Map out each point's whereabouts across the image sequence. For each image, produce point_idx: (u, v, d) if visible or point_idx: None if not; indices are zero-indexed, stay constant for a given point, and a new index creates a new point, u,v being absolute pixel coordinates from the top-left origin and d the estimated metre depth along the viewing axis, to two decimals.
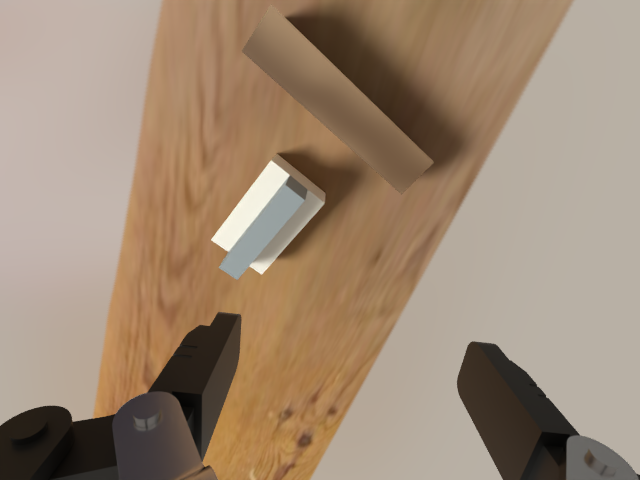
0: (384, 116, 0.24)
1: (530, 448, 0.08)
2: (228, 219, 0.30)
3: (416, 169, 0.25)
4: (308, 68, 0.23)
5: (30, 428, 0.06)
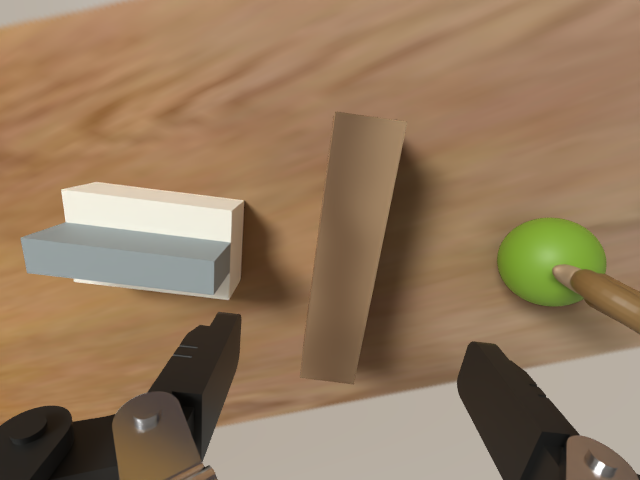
0: (366, 311, 0.19)
1: (530, 448, 0.08)
2: (111, 198, 0.19)
3: (335, 374, 0.20)
4: (364, 204, 0.17)
5: (30, 428, 0.06)
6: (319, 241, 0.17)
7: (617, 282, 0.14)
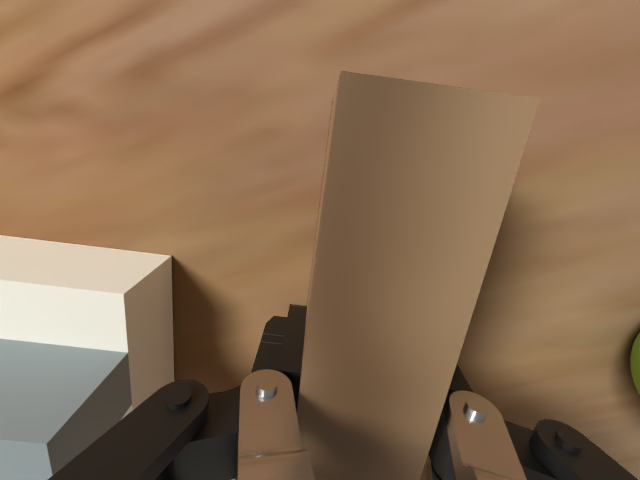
0: None
1: None
2: None
3: None
4: (412, 306, 0.07)
5: (179, 397, 0.07)
6: (303, 383, 0.08)
7: None
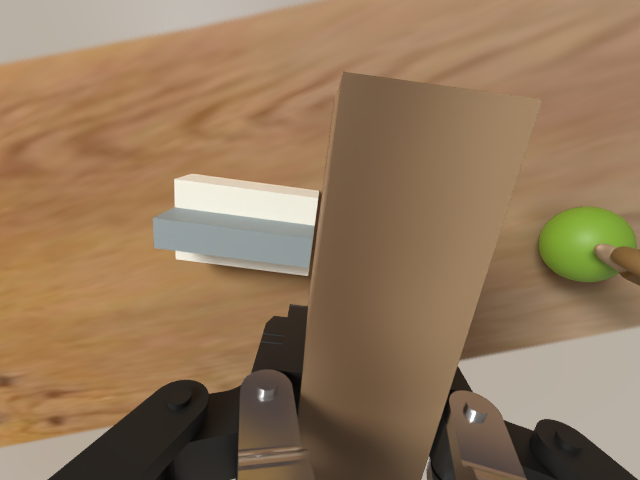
0: None
1: None
2: (216, 186, 0.22)
3: None
4: (413, 305, 0.07)
5: (180, 397, 0.07)
6: (304, 383, 0.08)
7: None
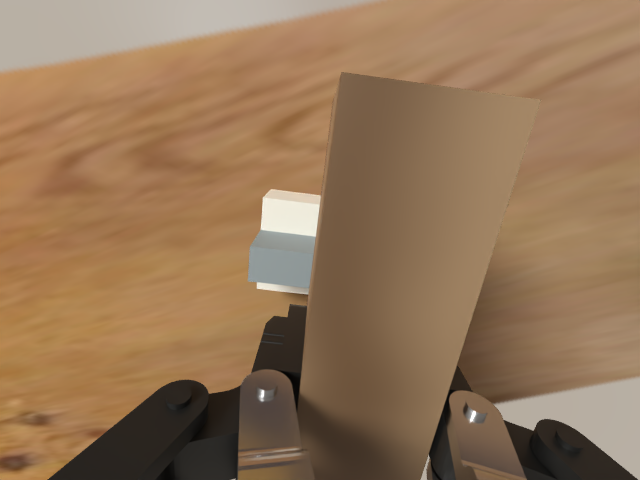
0: None
1: None
2: (312, 206, 0.19)
3: None
4: (412, 307, 0.07)
5: (180, 397, 0.07)
6: (303, 384, 0.08)
7: None
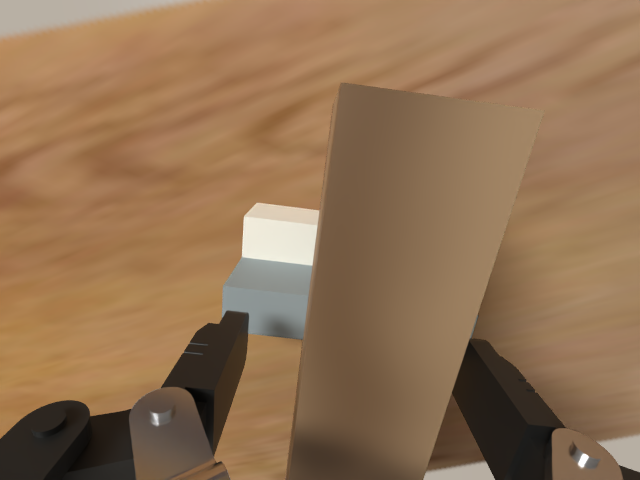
0: None
1: (517, 441, 0.08)
2: (307, 227, 0.15)
3: None
4: (412, 317, 0.07)
5: (50, 421, 0.06)
6: (302, 394, 0.07)
7: None
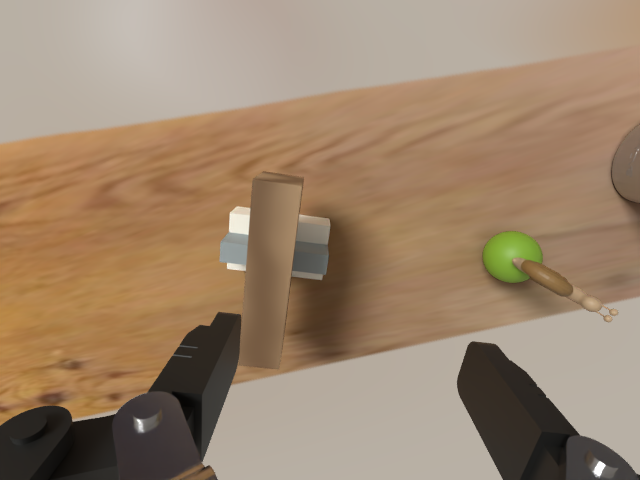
0: (284, 315, 0.26)
1: (530, 448, 0.08)
2: None
3: (264, 362, 0.27)
4: (277, 240, 0.24)
5: (30, 427, 0.06)
6: (246, 266, 0.24)
7: (541, 265, 0.28)
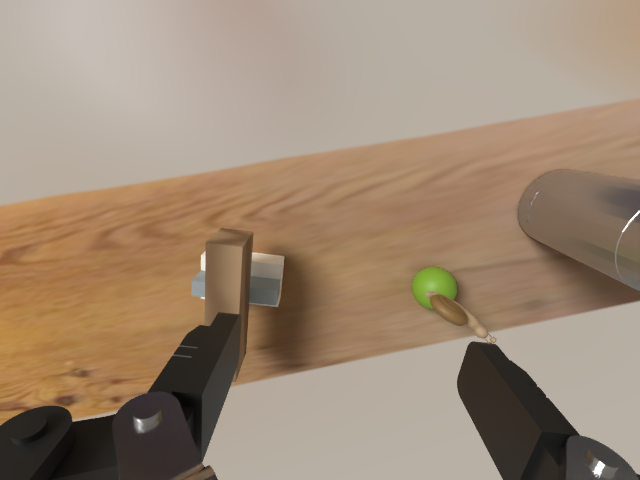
0: None
1: (530, 448, 0.08)
2: None
3: None
4: (226, 285, 0.32)
5: (30, 428, 0.06)
6: (205, 304, 0.32)
7: (443, 300, 0.35)
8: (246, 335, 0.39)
